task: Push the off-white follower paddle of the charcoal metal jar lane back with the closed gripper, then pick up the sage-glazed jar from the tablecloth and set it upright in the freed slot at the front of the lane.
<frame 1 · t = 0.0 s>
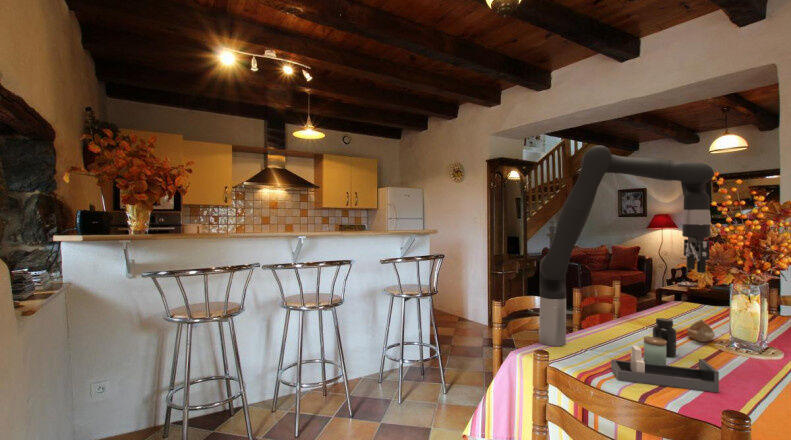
hand: (695, 270, 131), 29 cm above the table, tool pointing down, fingers open, 8 cm apart
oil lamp: (700, 340, 151), on the table
supplement bottle: (664, 354, 134), on the table
jar: (654, 364, 125), on the table
lane: (660, 379, 113), on the table
follower: (637, 360, 115), point 5 cm above the table, slide at -6.0 cm
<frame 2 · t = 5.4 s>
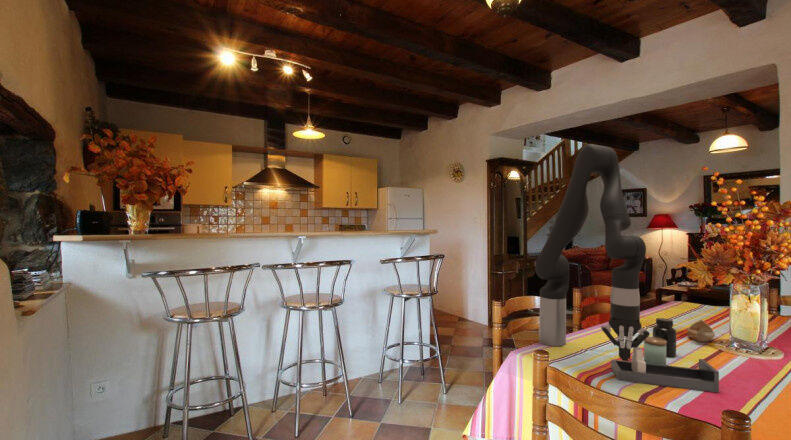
hand: (624, 359, 116), 5 cm above the table, tool pointing down, fingers closed
follower: (638, 361, 115), point 5 cm above the table, slide at -5.7 cm, touching gripper
everything else where it was.
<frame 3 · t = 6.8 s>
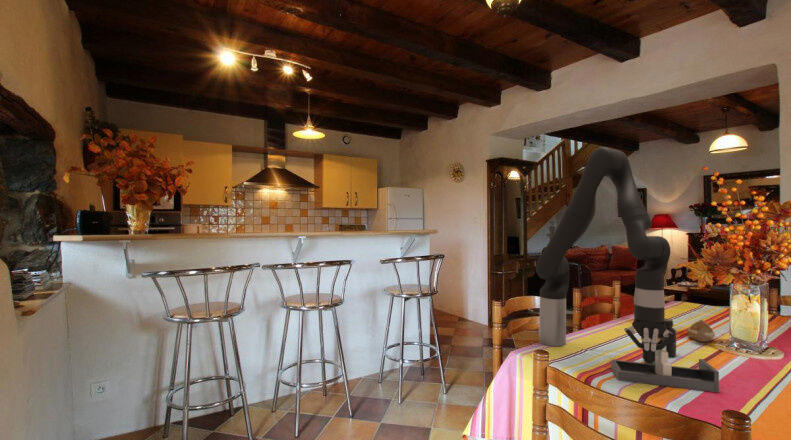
hand: (648, 362, 114), 5 cm above the table, tool pointing down, fingers closed
follower: (663, 363, 113), point 5 cm above the table, slide at 0.6 cm, touching gripper
everything else where it was.
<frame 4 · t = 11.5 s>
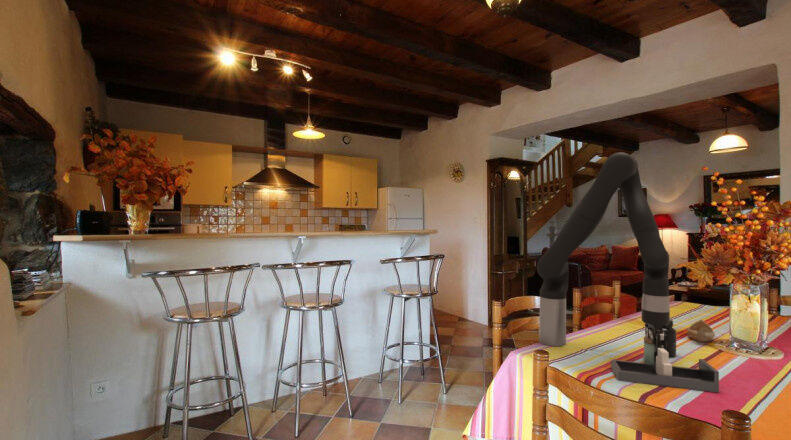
hand: (655, 360, 125), 1 cm above the table, tool pointing down, fingers closed on jar, 6 cm apart
jar: (654, 364, 125), on the table, touching gripper
follower: (663, 363, 113), point 5 cm above the table, slide at 0.7 cm
everything else where it was.
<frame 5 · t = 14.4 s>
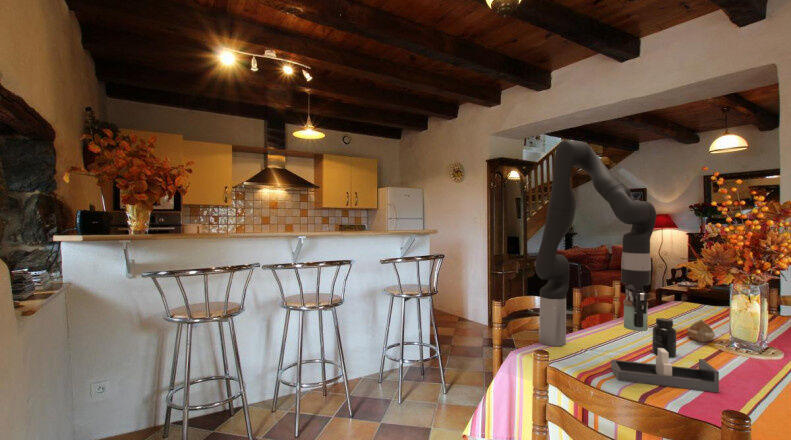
hand: (635, 323, 115), 16 cm above the table, tool pointing down, fingers closed on jar, 6 cm apart
jar: (635, 328, 115), point 14 cm above the table, touching gripper
everything else where it was.
when the fingers open (3 cm above the table, at t = 17.3 s): jar drops 1 cm, resting on lane.
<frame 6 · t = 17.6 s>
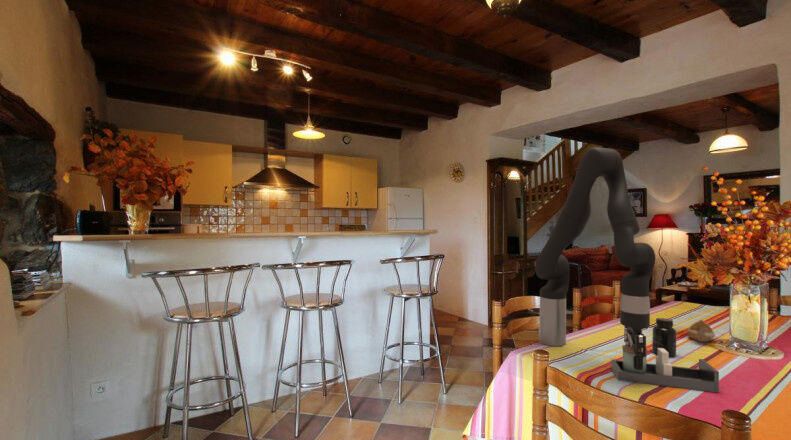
hand: (634, 364, 115), 4 cm above the table, tool pointing down, fingers open, 8 cm apart
jar: (634, 374, 115), resting on lane
everything else where it was.
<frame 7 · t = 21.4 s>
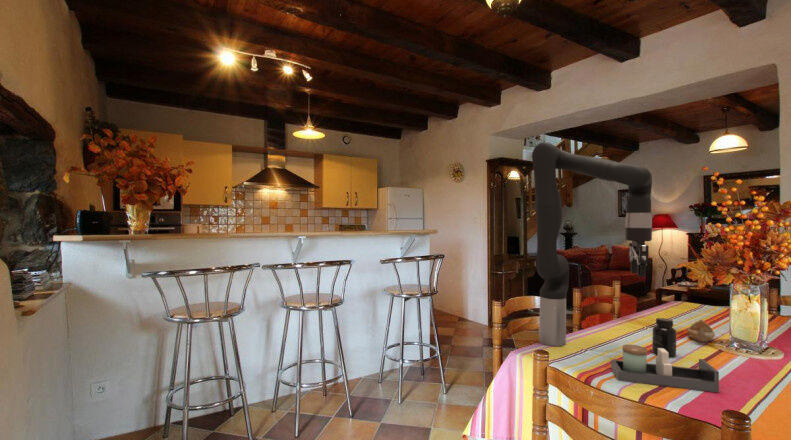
hand: (638, 274, 130), 28 cm above the table, tool pointing down, fingers open, 8 cm apart
nothing on the table moved.
at the end: follower slide at 0.7 cm; jar 0.3 cm from the target spot, resting on lane; jar tilted 0° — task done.
